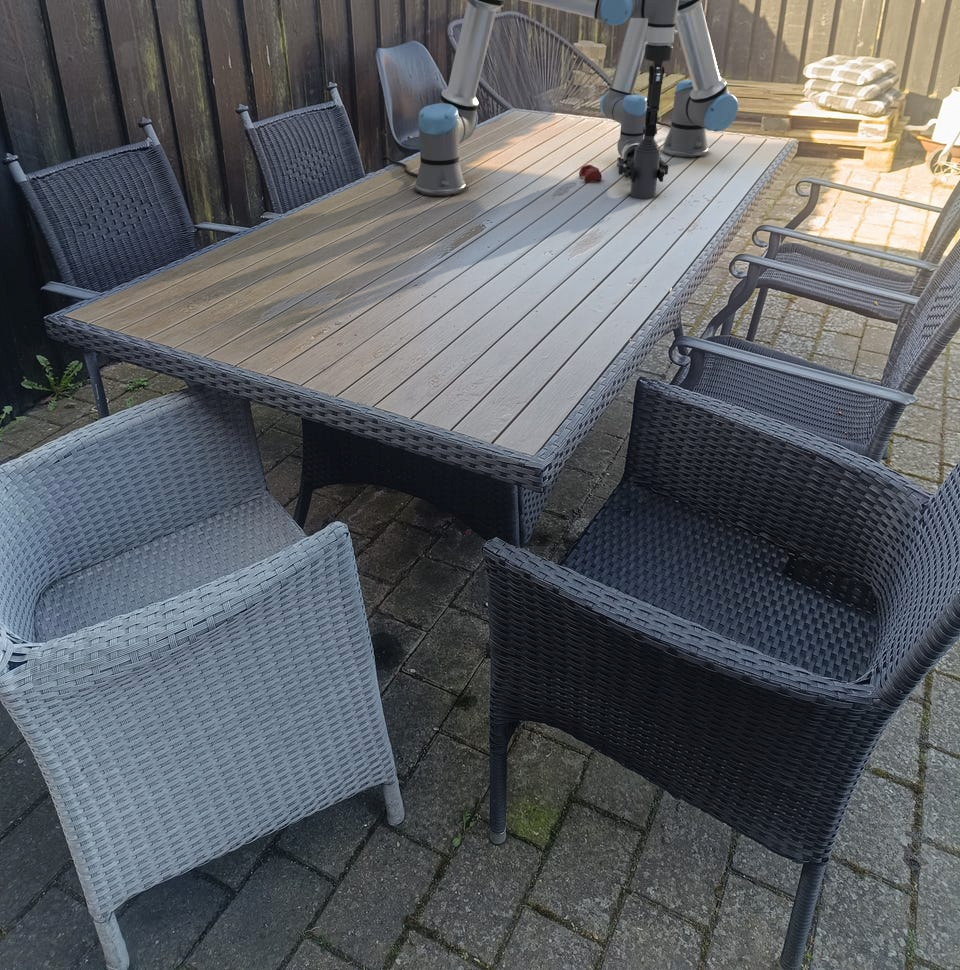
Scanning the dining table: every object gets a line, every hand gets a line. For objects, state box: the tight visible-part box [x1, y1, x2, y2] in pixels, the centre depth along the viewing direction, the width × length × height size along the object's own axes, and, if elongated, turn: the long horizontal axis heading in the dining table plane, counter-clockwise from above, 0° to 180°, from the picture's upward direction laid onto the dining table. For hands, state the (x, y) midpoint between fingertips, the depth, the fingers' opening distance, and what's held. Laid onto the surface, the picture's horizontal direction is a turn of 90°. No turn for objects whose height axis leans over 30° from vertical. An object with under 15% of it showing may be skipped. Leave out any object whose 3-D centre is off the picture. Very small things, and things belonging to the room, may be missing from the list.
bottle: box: [629, 135, 661, 200], centre depth 249 cm, size 7×7×18 cm
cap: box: [642, 126, 658, 136], centre depth 243 cm, size 4×4×2 cm
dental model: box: [578, 164, 603, 183], centre depth 266 cm, size 6×4×8 cm
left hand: (649, 133), depth 244 cm, fingers closed on cap, 4 cm apart
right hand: (648, 177), depth 246 cm, fingers closed on bottle, 7 cm apart
